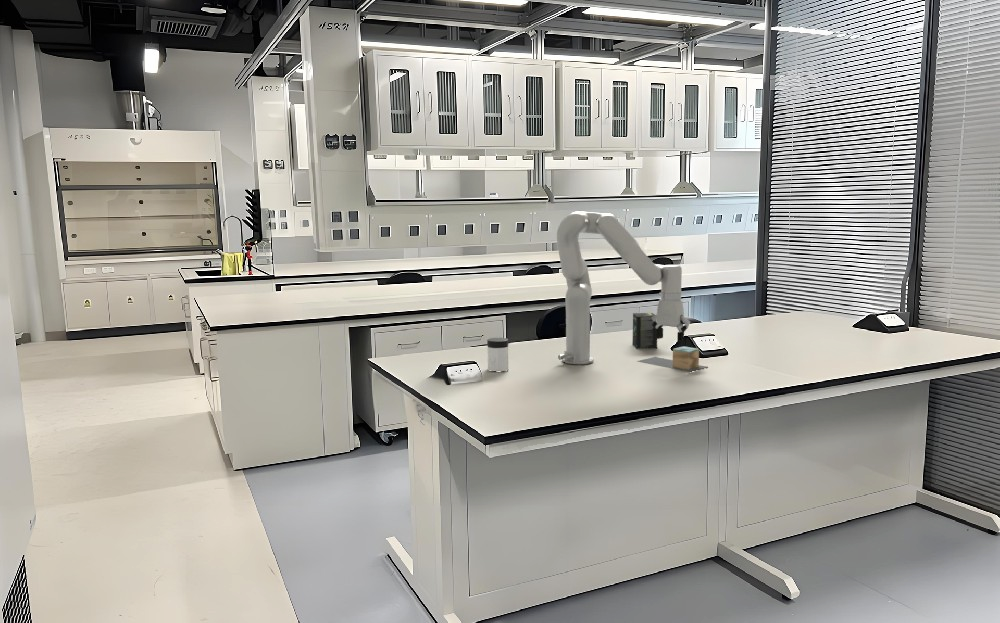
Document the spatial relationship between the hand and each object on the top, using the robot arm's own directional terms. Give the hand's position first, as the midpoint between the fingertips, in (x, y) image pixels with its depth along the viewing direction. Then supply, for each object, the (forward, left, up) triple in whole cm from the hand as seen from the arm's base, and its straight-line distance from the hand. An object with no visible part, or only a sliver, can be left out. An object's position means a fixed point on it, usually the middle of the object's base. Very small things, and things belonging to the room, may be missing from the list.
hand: (670, 340), depth 273 cm
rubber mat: (0, -1, -10) cm, 10 cm away
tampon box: (+21, +29, -10) cm, 37 cm away
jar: (-55, +40, -10) cm, 69 cm away
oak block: (0, -7, -2) cm, 8 cm away
